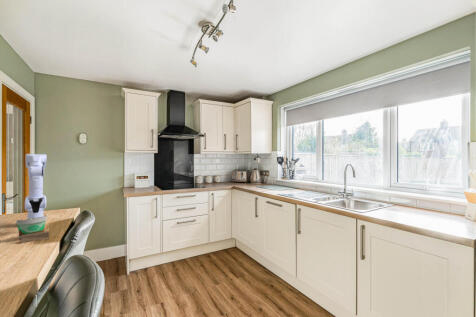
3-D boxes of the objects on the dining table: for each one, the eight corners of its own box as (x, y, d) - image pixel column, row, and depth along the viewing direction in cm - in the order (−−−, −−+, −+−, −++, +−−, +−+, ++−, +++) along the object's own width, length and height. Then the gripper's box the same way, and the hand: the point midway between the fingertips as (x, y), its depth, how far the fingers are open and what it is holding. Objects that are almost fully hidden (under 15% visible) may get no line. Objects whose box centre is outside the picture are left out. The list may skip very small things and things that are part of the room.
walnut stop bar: (21, 241, 108) (21, 235, 108) (48, 236, 115) (48, 230, 115) (21, 243, 106) (21, 236, 106) (48, 238, 113) (48, 232, 113)
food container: (21, 242, 107) (21, 221, 107) (15, 240, 110) (15, 219, 110) (51, 234, 118) (52, 215, 118) (45, 233, 121) (46, 214, 121)
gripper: (26, 187, 126) (26, 211, 126) (25, 190, 115) (25, 216, 115) (43, 186, 130) (42, 209, 130) (43, 188, 120) (43, 214, 120)
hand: (35, 212), depth 123 cm, fingers closed
